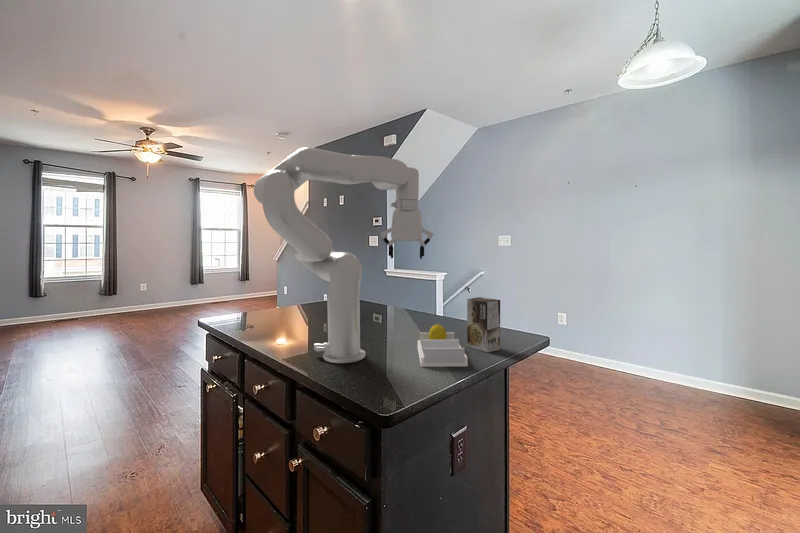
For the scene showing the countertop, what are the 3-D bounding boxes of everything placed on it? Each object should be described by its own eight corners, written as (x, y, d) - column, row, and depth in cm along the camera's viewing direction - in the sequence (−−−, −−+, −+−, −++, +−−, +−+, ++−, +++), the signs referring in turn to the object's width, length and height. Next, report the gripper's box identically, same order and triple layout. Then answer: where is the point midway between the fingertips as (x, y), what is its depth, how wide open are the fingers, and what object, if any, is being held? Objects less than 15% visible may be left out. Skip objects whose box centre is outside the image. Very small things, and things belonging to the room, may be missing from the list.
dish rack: (420, 366, 99) (420, 348, 99) (417, 347, 118) (417, 332, 118) (467, 366, 99) (467, 348, 99) (456, 347, 118) (456, 332, 118)
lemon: (445, 351, 110) (445, 326, 109) (427, 350, 111) (427, 325, 110) (447, 346, 115) (447, 322, 115) (429, 345, 116) (429, 321, 116)
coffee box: (500, 349, 115) (501, 299, 114) (487, 353, 112) (487, 301, 111) (479, 343, 123) (480, 296, 122) (466, 346, 119) (466, 298, 118)
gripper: (379, 204, 115) (379, 258, 116) (433, 205, 114) (433, 259, 115) (381, 207, 122) (381, 257, 123) (432, 208, 122) (431, 258, 123)
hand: (406, 258), depth 119 cm, fingers open, 9 cm apart
